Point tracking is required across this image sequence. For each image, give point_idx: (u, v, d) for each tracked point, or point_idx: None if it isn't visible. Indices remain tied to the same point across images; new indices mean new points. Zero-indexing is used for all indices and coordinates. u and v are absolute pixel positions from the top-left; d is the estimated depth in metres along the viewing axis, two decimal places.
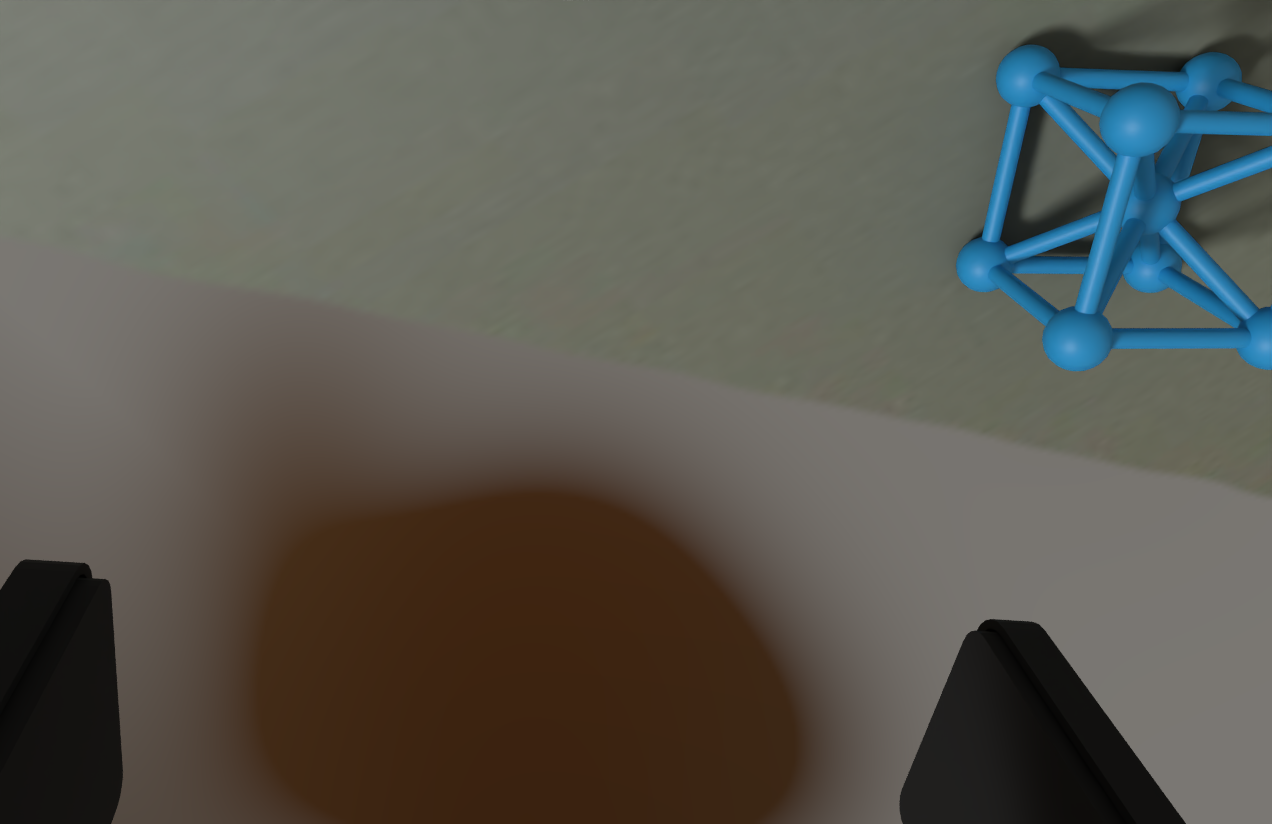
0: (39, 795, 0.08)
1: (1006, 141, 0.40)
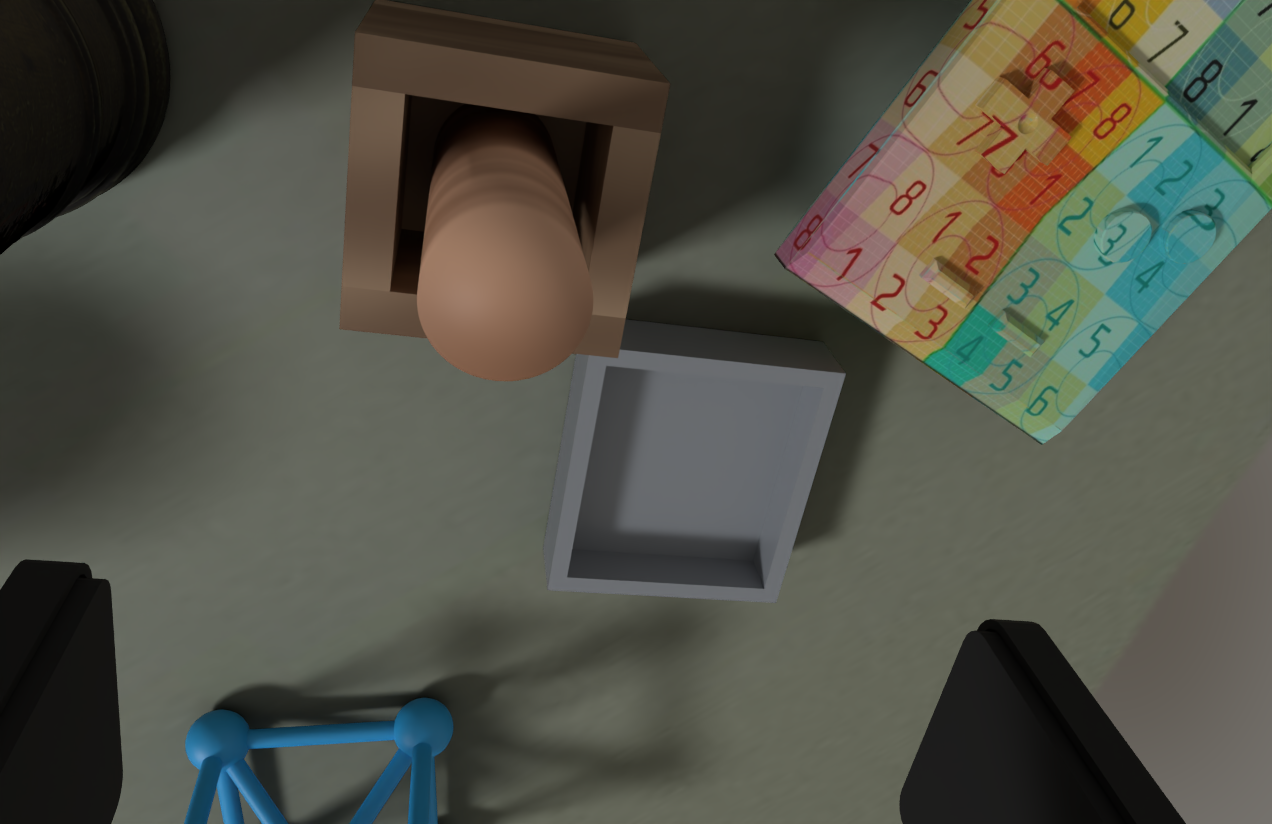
0: (39, 795, 0.08)
1: None
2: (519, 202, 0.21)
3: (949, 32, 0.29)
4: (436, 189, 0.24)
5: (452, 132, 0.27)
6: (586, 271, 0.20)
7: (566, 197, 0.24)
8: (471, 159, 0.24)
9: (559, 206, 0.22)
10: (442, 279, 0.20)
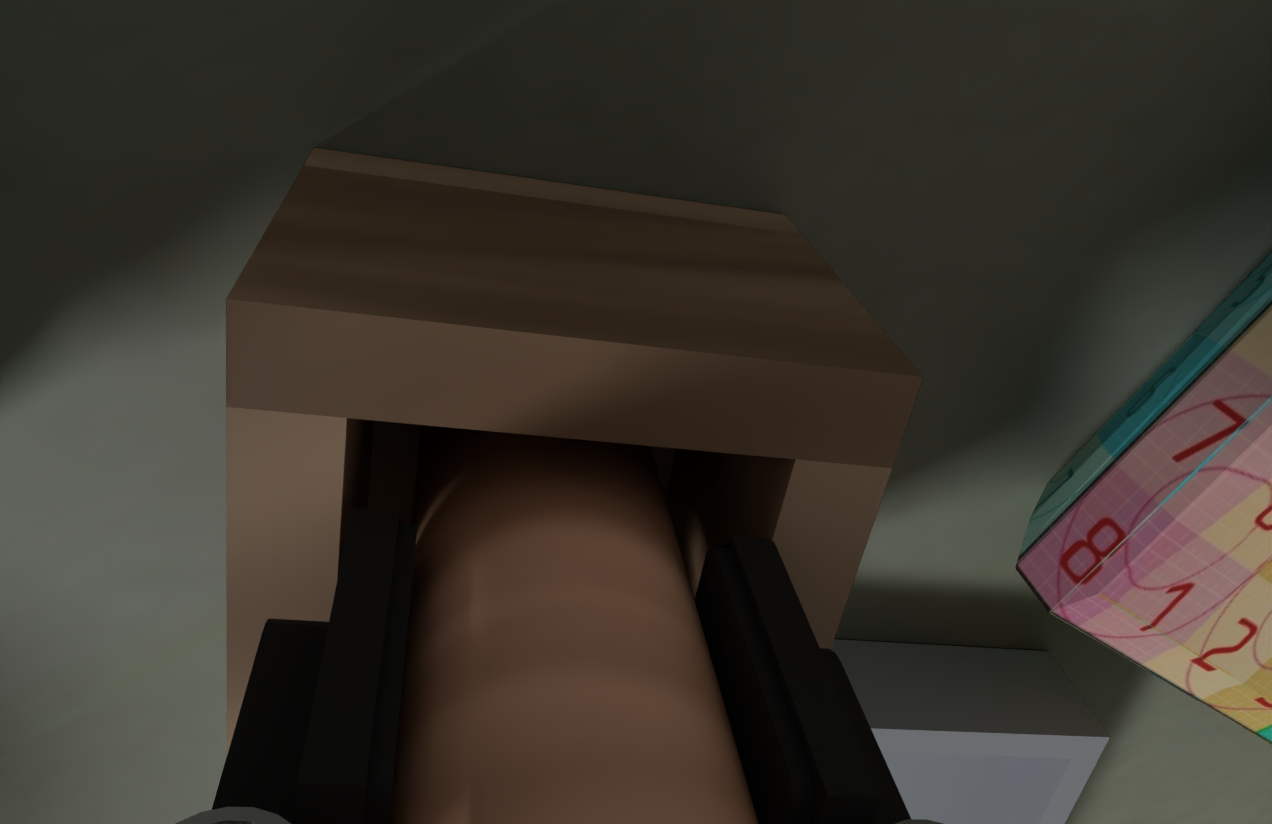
0: None
1: None
2: None
3: None
4: (415, 641, 0.10)
5: None
6: None
7: (703, 640, 0.11)
8: (494, 578, 0.10)
9: (718, 773, 0.09)
10: None
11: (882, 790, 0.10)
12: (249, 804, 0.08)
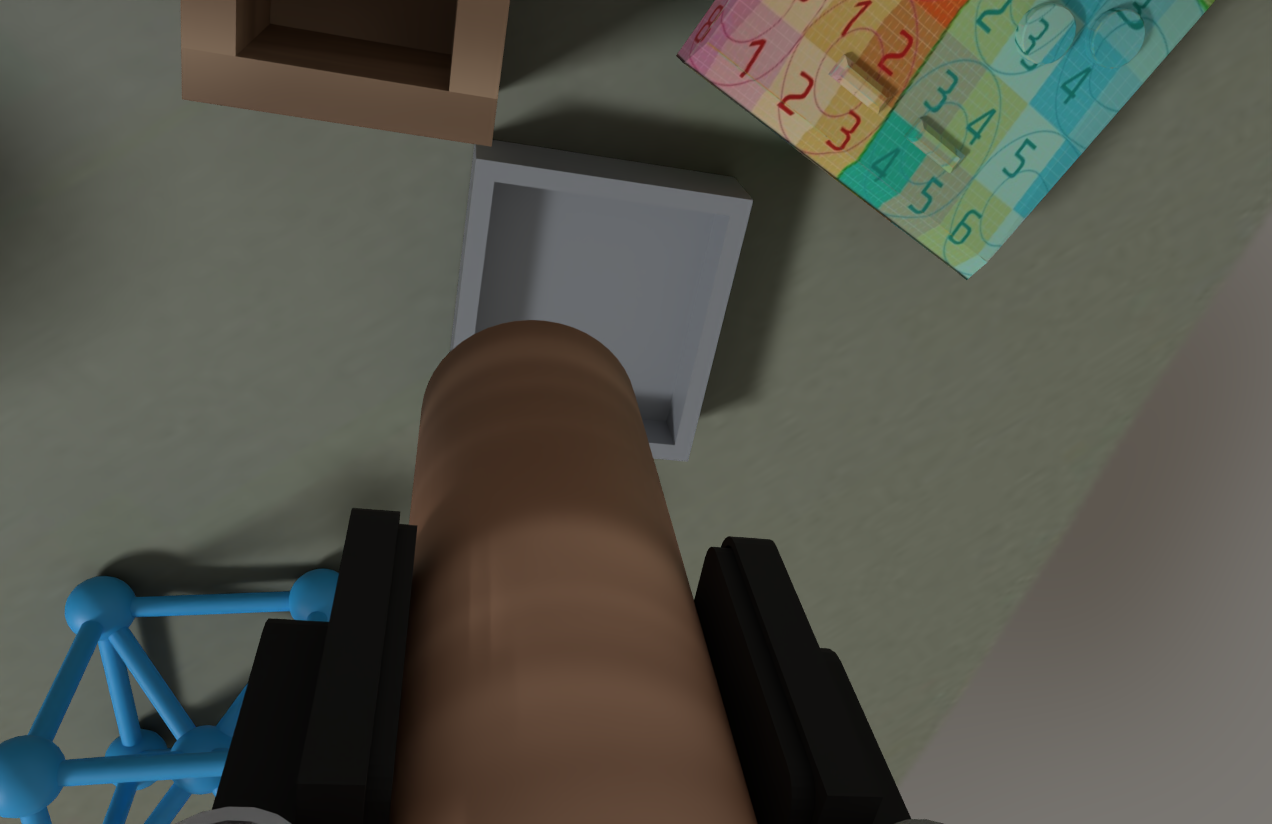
0: None
1: None
2: None
3: None
4: (413, 640, 0.10)
5: (452, 421, 0.14)
6: None
7: (702, 638, 0.11)
8: (492, 576, 0.10)
9: (716, 771, 0.09)
10: None
11: (883, 789, 0.10)
12: (249, 804, 0.08)
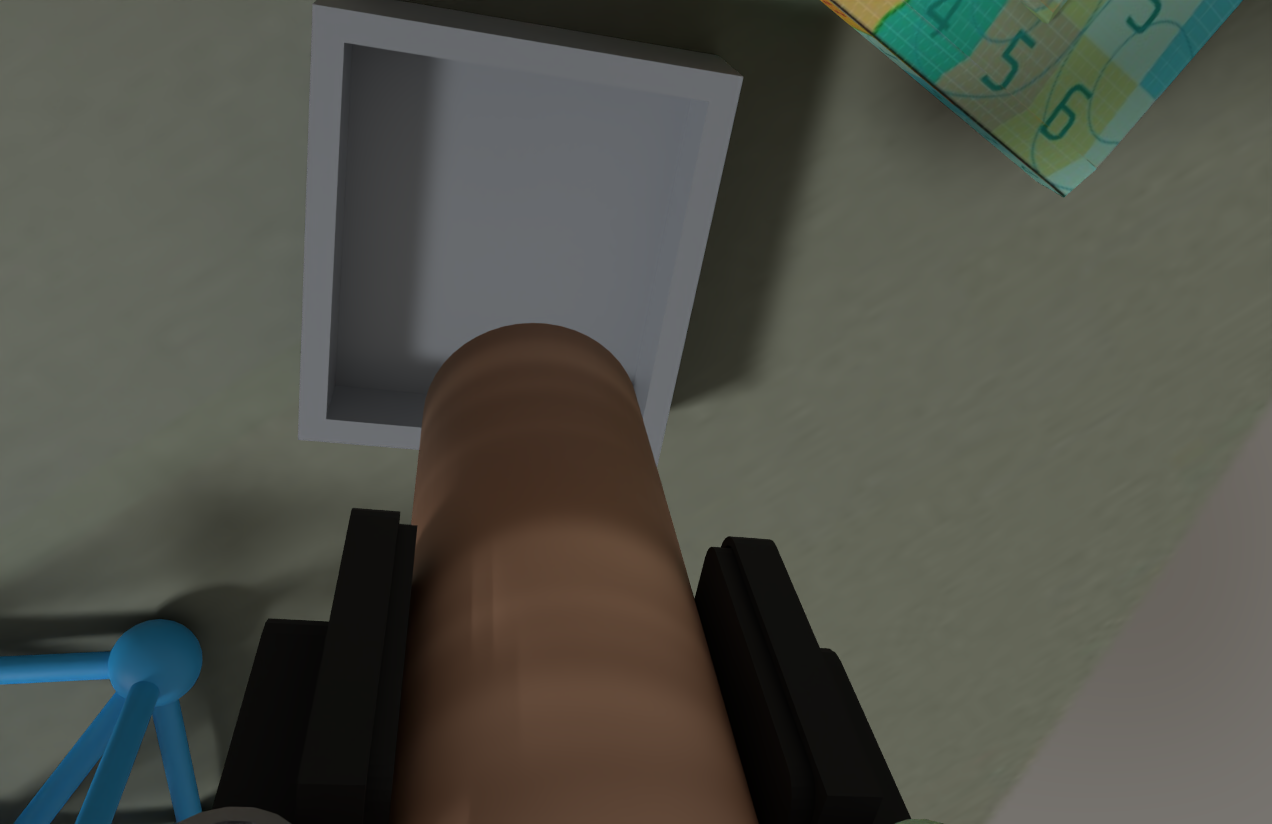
0: None
1: None
2: None
3: None
4: (415, 644, 0.10)
5: (454, 425, 0.14)
6: None
7: (704, 643, 0.11)
8: (495, 580, 0.10)
9: (719, 776, 0.09)
10: None
11: (882, 789, 0.10)
12: (249, 804, 0.08)
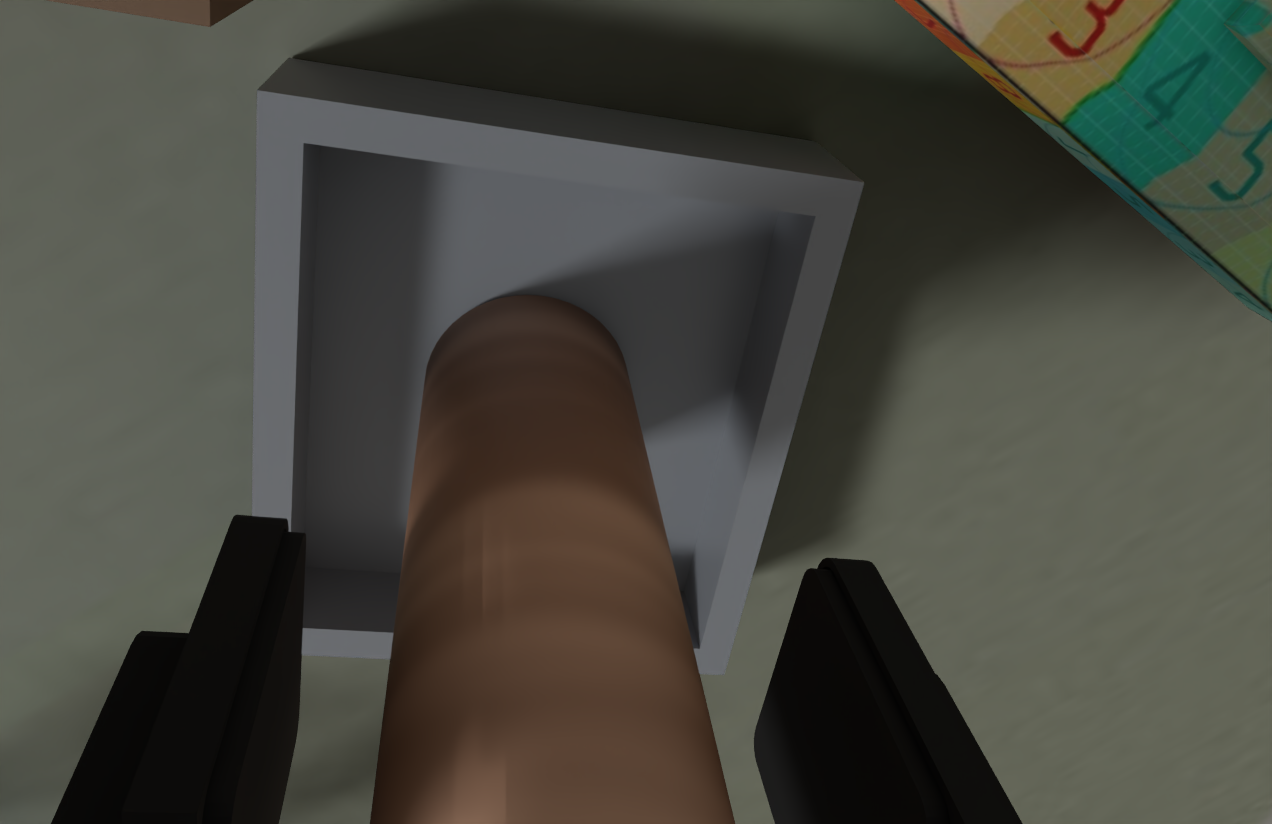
0: (272, 716, 0.09)
1: None
2: (598, 781, 0.08)
3: None
4: (412, 590, 0.12)
5: (452, 391, 0.15)
6: None
7: (676, 593, 0.12)
8: (485, 533, 0.11)
9: (680, 708, 0.10)
10: None
11: None
12: None
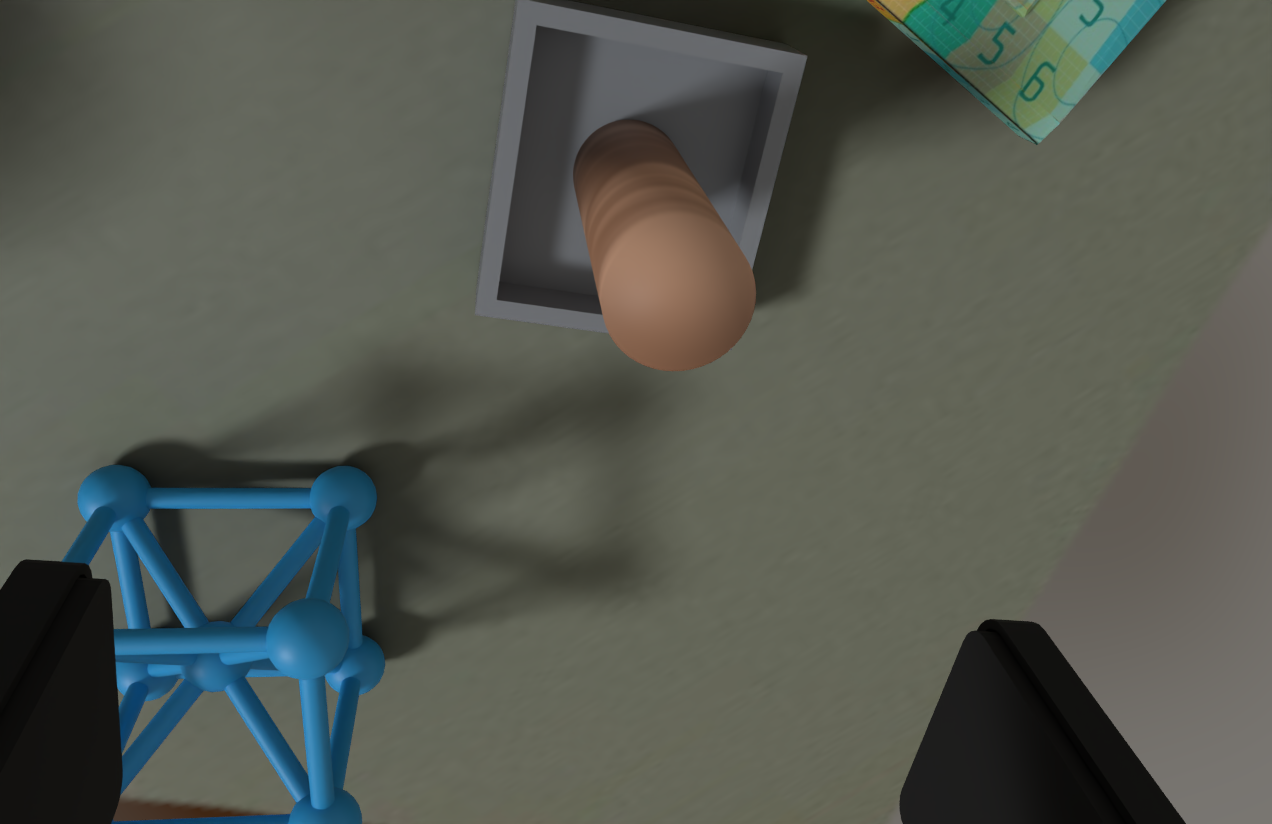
0: (39, 796, 0.08)
1: (115, 559, 0.36)
2: (691, 211, 0.23)
3: None
4: (599, 200, 0.26)
5: (600, 150, 0.30)
6: (752, 273, 0.23)
7: None
8: (632, 174, 0.26)
9: (719, 216, 0.25)
10: (626, 278, 0.23)
11: None
12: None
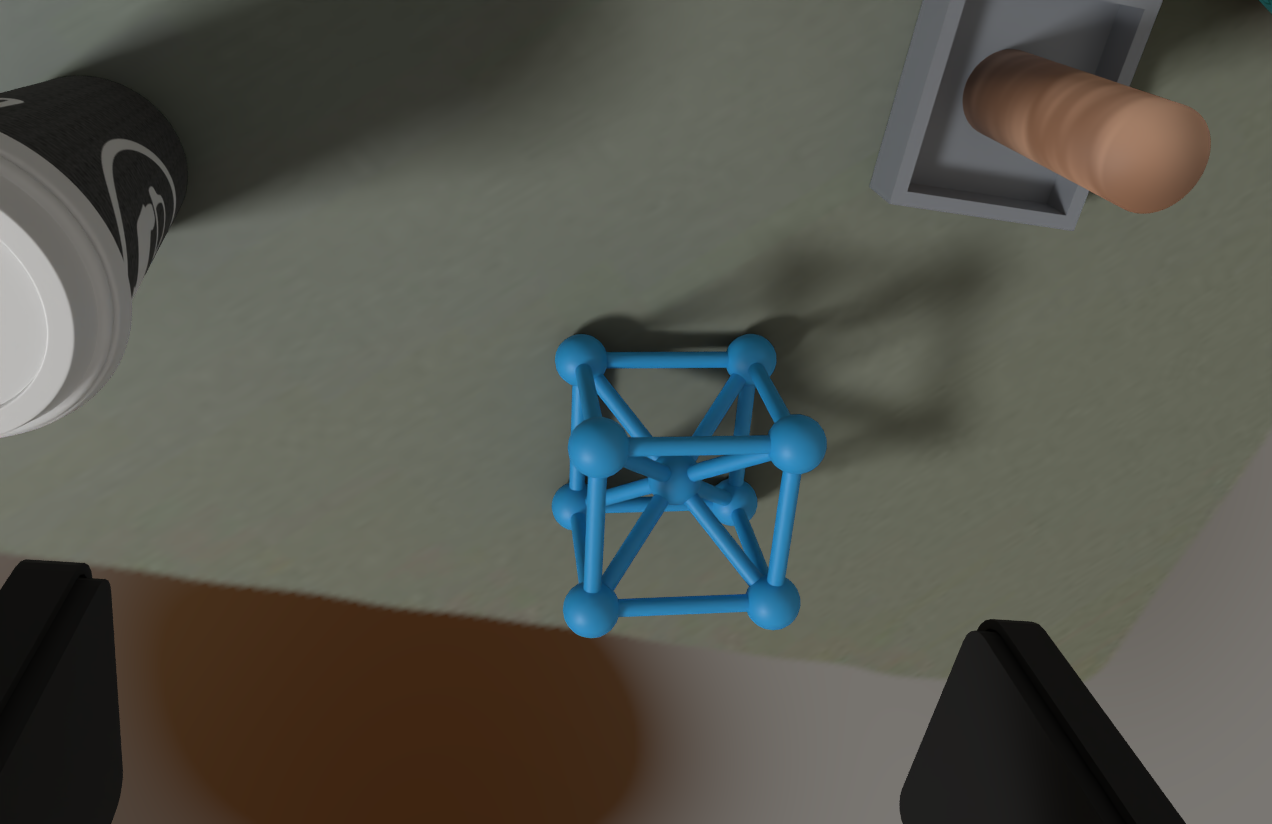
0: (39, 795, 0.08)
1: (572, 411, 0.46)
2: (1161, 97, 0.33)
3: None
4: (1051, 100, 0.36)
5: (1011, 69, 0.39)
6: (1210, 139, 0.32)
7: None
8: (1076, 79, 0.36)
9: None
10: (1126, 143, 0.32)
11: None
12: None
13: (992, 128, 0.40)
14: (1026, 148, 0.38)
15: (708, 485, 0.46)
